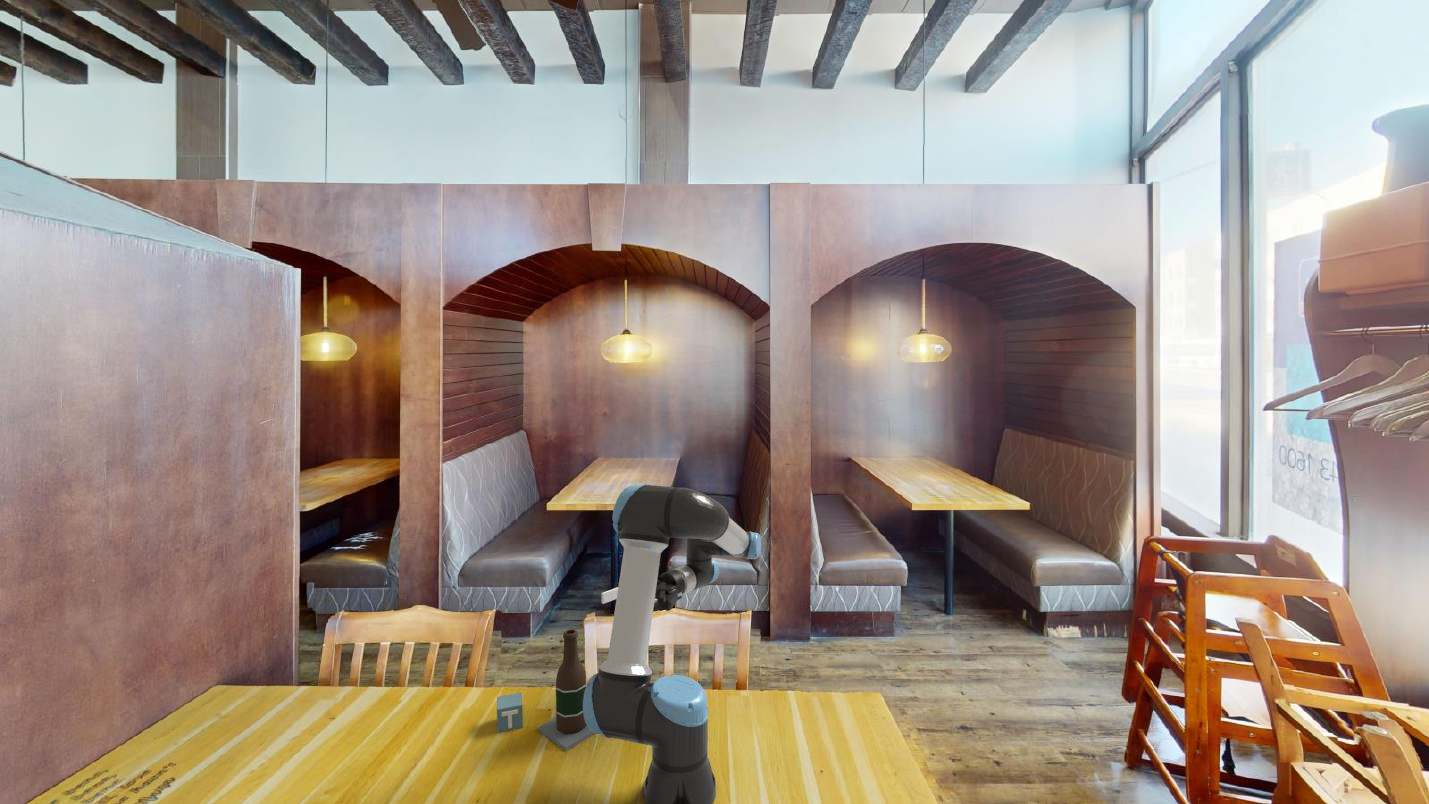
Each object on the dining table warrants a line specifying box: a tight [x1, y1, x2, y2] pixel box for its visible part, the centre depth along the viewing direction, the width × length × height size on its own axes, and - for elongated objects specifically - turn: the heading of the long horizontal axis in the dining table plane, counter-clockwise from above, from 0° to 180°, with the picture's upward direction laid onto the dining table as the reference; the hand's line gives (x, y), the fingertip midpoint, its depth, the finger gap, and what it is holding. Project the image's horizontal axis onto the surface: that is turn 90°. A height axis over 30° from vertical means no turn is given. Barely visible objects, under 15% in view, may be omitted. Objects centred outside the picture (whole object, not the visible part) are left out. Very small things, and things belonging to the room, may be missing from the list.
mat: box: [536, 716, 596, 751], centre depth 147 cm, size 12×12×1 cm
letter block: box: [496, 691, 524, 733], centre depth 149 cm, size 6×6×6 cm
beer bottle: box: [555, 628, 587, 734], centre depth 146 cm, size 8×8×24 cm
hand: (619, 605), depth 151 cm, fingers open, 13 cm apart
